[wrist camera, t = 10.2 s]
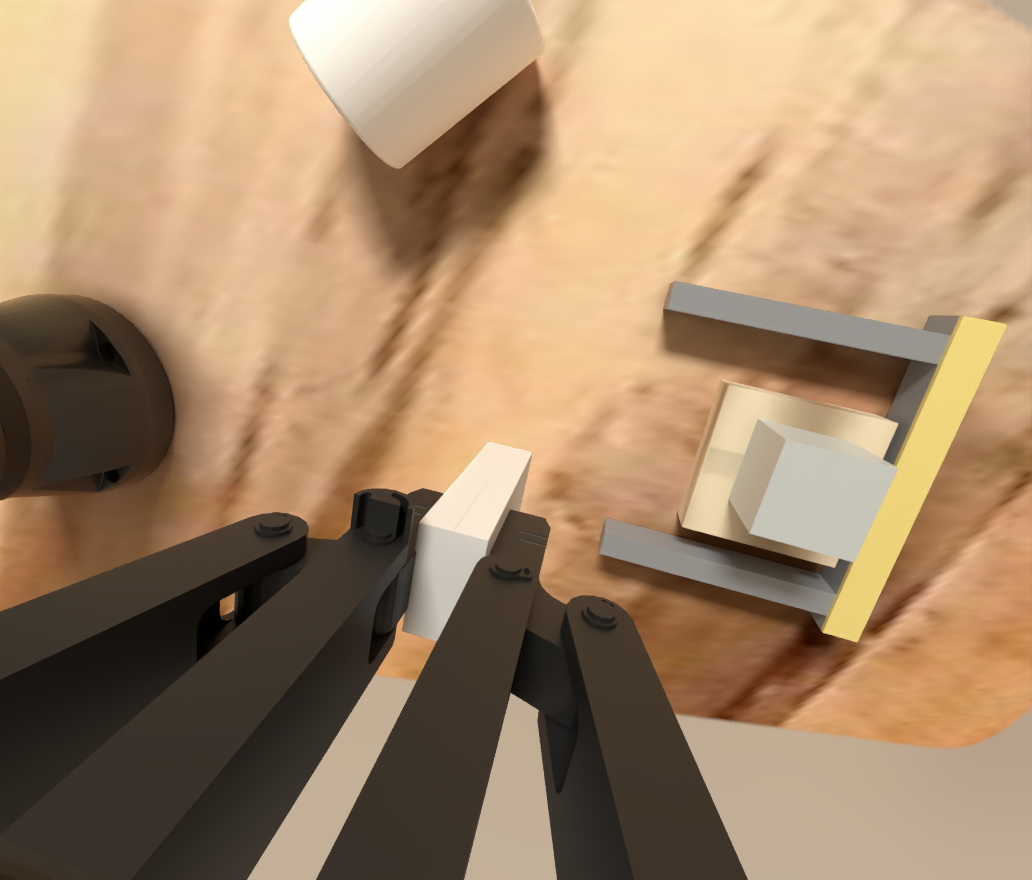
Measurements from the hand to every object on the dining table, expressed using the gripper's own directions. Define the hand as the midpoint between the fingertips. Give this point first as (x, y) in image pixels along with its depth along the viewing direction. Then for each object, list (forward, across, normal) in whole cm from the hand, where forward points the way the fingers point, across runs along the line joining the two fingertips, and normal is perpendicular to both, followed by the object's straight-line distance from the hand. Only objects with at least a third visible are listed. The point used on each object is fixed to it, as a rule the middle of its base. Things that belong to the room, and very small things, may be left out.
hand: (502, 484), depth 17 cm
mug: (+17, -12, +19) cm, 28 cm away
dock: (+16, +12, 0) cm, 21 cm away
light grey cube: (+14, +14, 0) cm, 20 cm away
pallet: (+17, +14, -1) cm, 22 cm away
